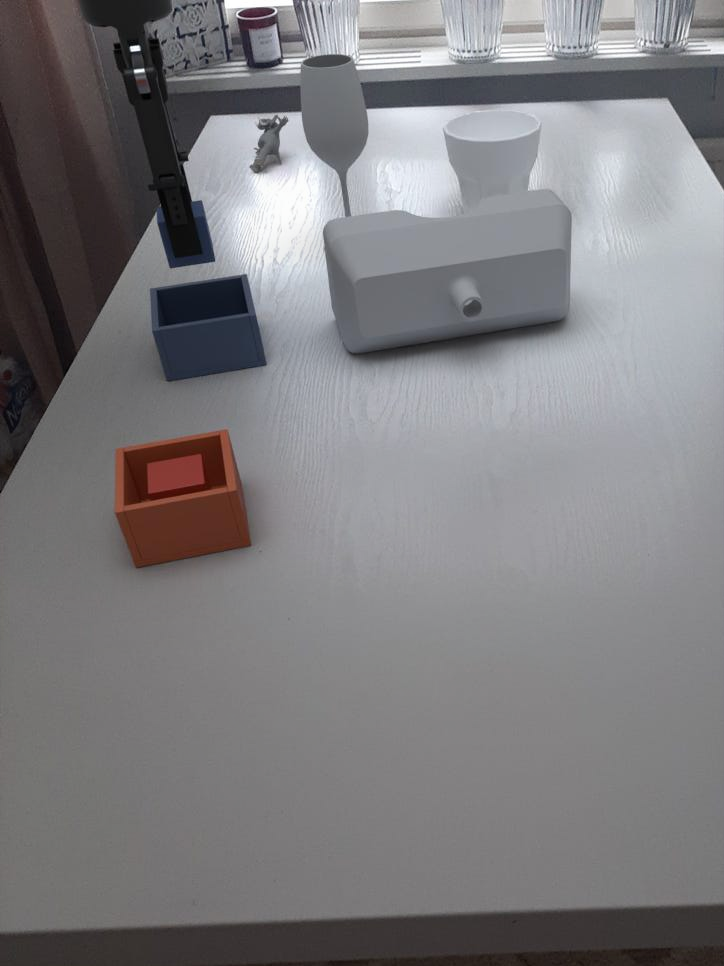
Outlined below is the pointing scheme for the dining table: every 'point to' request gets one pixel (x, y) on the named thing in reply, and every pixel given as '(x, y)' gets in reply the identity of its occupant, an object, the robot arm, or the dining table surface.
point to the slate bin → (206, 327)
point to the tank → (449, 271)
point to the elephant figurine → (268, 141)
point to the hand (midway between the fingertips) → (187, 244)
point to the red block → (177, 477)
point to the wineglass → (334, 113)
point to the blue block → (202, 232)
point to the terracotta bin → (180, 502)
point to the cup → (492, 152)
